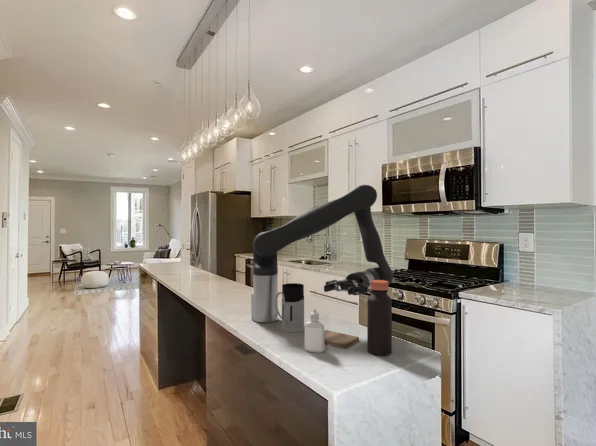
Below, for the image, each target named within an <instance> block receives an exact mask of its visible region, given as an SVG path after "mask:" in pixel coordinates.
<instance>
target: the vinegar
mask: <svg viewBox="0 0 596 446" xmlns="http://www.w3.org/2000/svg"><path fill="white" fill-rule="evenodd" d="M370 292H371V294H370V295H369V296H368V297H367V302H366V304H367V307H366V308H367V309H366V310H367V314H366V315H367V318H366V319H367V321H366V323H367V325H366V326H367V331H366V332H367V333H366V334H367V336H366V338H367V341H366V342H367V345H366V346H367V347H366V348H367V349H366V350H367V352H368V353H369V354H371V355H374V356H381V357H383V356H384V357H386V356H390V355H391V354H393V353H392V352H393V348H392V347H393V346H392V345H393V343H392V342H393V338H392V337H393V335H392V333H393V329H392V328H393V326H392V325H393V324H392V323H393V318H392V317H393V316H392V315H393V312H392V311H393V308H392V306H393V303H392V302H393V299H392V298H391V296H389V295H388V292H389V284H388V281H384V280H372V281H371V289H370Z"/></svg>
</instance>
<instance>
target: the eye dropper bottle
mask: <svg viewBox="0 0 596 446" xmlns="http://www.w3.org/2000/svg"><path fill="white" fill-rule="evenodd" d="M309 318H310V319H309V321H307V322H305V323H304V326H305V330H304V351H306V352H309V353H320V354H321V353H323V352H324V350H325V345H326V344H325V330H326V329H325V324H324V323H323V322H321V321H320V313H319V312H317V309H316V307H314V308H313V309H312V312H310V317H309Z"/></svg>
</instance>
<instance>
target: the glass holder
mask: <svg viewBox="0 0 596 446" xmlns="http://www.w3.org/2000/svg"><path fill="white" fill-rule="evenodd" d="M281 286H282V287H281V289H282V290H281V291H282V292H281V291H280V292H279V291H278V293H277V295H276V298H275V306H276V311H277V314H278V318H280V319H281V324H280V325H281V326H280V328H279V329H280V330H281V331H283V332H287V333H297V332H303V331H305V292H304V291H305V290H304V289H305V286H304V284H303V283H296V282H295V283H293V282H292V283H290V282H289V283H283V284H282V285H281ZM280 294H281V313H280V311H279V307H278V306H277V298H279V296H280Z"/></svg>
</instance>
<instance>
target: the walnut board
mask: <svg viewBox="0 0 596 446" xmlns="http://www.w3.org/2000/svg"><path fill="white" fill-rule="evenodd" d="M324 330H325V345H328V346H332V347H337V348H341V349H347V348H349V347H350V346H352V345H354V344H355V343H357V342H358V341H359V340H360V337H359V336H354V335H351V334H346V333H342V332H337V331H333V330H328V329H324Z"/></svg>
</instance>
